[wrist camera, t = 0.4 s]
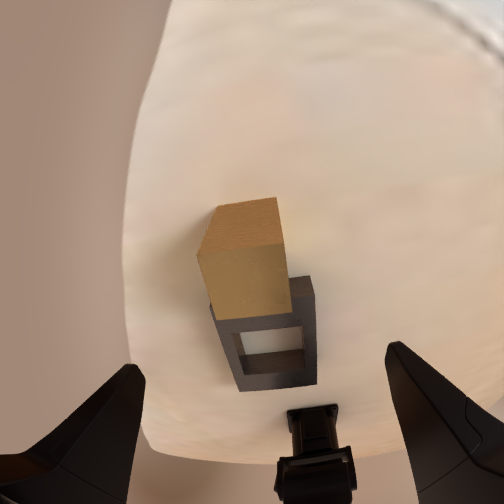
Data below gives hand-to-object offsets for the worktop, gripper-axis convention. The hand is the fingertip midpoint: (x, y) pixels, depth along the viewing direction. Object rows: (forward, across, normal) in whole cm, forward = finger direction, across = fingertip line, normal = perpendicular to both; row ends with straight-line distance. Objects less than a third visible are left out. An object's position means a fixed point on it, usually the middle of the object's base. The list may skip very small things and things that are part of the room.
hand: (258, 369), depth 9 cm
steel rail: (+12, 0, +10) cm, 16 cm away
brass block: (+12, +1, 0) cm, 12 cm away
